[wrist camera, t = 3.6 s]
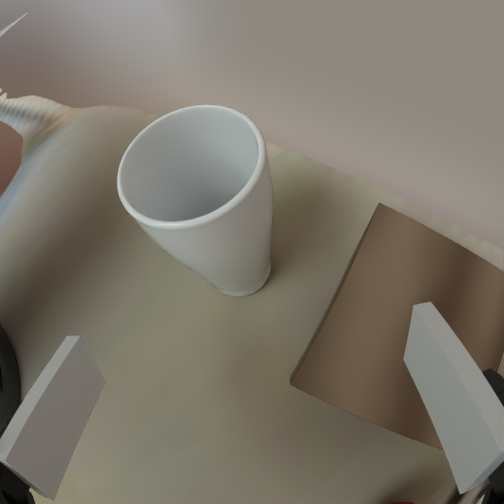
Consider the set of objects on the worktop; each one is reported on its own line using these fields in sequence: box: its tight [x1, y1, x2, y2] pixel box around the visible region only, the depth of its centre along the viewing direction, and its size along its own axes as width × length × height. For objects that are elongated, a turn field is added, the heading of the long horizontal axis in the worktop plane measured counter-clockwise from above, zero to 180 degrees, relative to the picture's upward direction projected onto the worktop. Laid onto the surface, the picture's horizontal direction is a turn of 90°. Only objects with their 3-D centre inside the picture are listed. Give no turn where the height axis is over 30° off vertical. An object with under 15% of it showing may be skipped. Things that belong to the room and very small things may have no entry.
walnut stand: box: [290, 203, 504, 450], centre depth 19 cm, size 12×12×8 cm
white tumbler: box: [117, 104, 273, 297], centre depth 19 cm, size 7×7×15 cm
